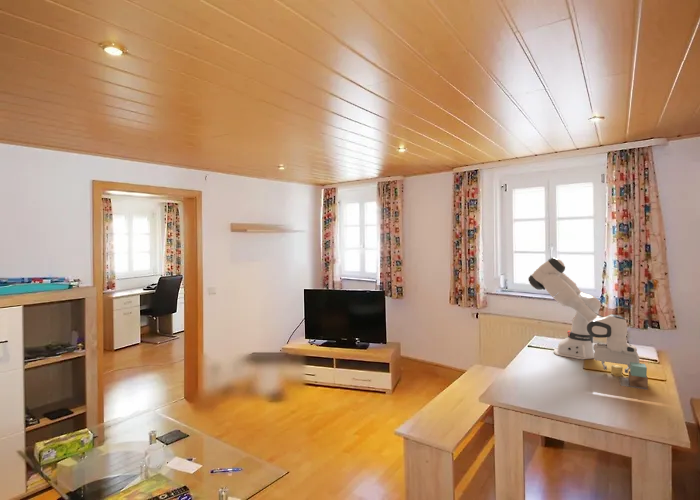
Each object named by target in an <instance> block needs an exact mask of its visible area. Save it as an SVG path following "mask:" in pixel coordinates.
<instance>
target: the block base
mask: <svg viewBox="0 0 700 500" xmlns="http://www.w3.org/2000/svg"><path fill="white" fill-rule="evenodd" d="M628 378H629V384H630V386H636V387H643V388H649V387H648V386H649V384H648V383H649V378H648V375H647V376H646V378H645V377H638V376H631V373H630V370H628Z"/></svg>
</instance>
